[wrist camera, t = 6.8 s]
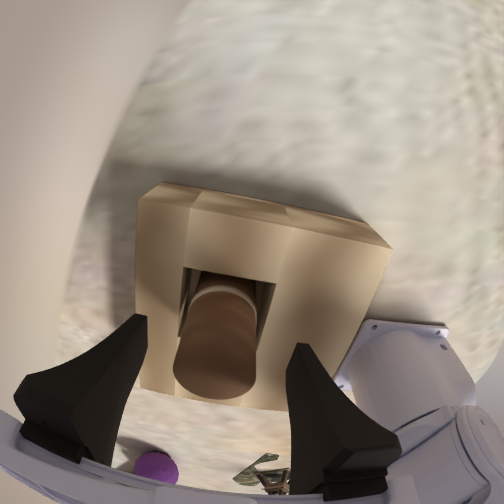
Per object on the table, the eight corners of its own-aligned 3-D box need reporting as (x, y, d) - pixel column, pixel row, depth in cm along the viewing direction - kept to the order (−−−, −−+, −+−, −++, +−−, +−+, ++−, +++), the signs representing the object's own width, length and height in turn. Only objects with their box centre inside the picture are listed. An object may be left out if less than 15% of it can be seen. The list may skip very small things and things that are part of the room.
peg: (264, 264, 19) (269, 357, 11) (246, 310, 20) (243, 406, 13) (206, 248, 18) (177, 334, 11) (194, 296, 20) (167, 388, 12)
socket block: (367, 223, 18) (393, 249, 14) (305, 376, 24) (311, 412, 20) (162, 182, 17) (138, 199, 13) (153, 352, 23) (140, 387, 19)
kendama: (108, 487, 33) (133, 474, 25) (121, 464, 39) (151, 439, 30) (138, 503, 34) (176, 496, 25) (149, 480, 39) (191, 461, 31)
